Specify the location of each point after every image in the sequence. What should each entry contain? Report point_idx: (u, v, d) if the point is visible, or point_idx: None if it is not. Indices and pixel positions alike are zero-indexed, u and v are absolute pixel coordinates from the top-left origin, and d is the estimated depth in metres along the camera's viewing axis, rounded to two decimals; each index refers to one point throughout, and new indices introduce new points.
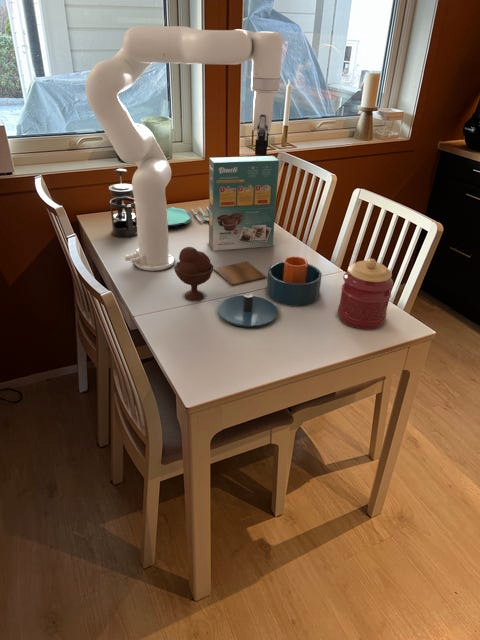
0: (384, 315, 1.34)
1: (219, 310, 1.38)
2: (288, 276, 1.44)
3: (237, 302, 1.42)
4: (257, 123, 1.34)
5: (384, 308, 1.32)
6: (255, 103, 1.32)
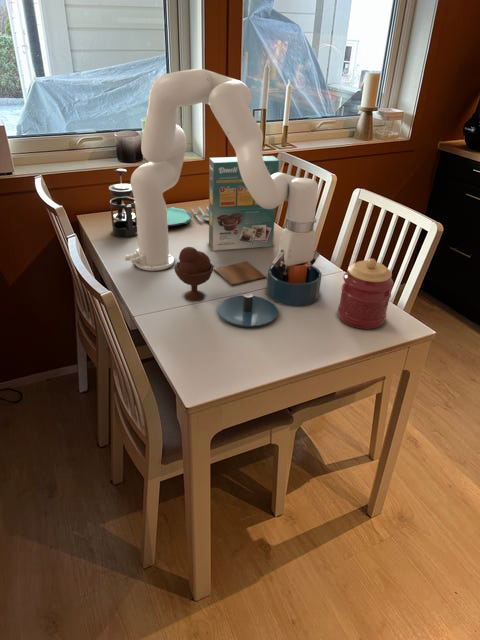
0: (384, 315, 1.34)
1: (219, 310, 1.38)
2: (288, 276, 1.44)
3: (237, 302, 1.42)
4: None
5: (384, 308, 1.32)
6: (280, 238, 1.40)
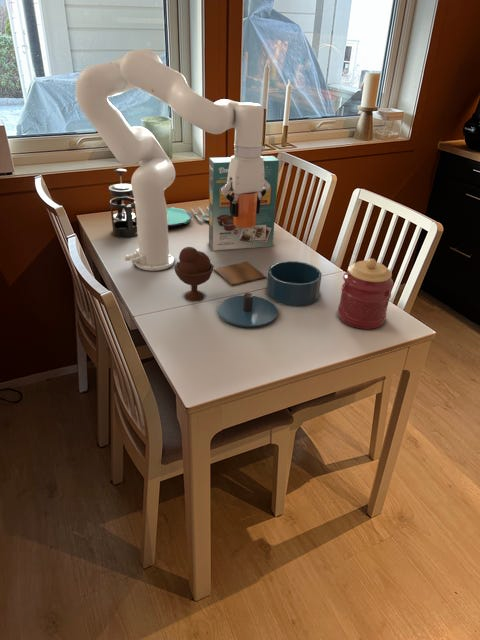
0: (384, 315, 1.34)
1: (219, 310, 1.38)
2: (238, 205, 1.44)
3: (237, 302, 1.42)
4: None
5: (384, 308, 1.32)
6: (229, 166, 1.41)
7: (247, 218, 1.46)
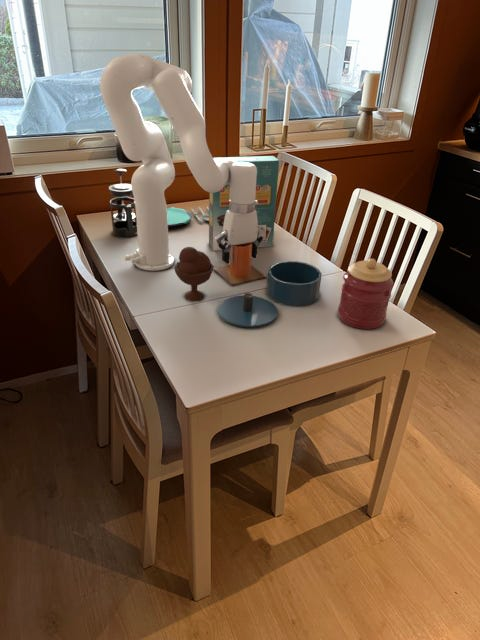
0: (384, 315, 1.34)
1: (219, 310, 1.38)
2: (234, 257, 1.53)
3: (237, 302, 1.42)
4: None
5: (384, 308, 1.32)
6: (224, 219, 1.50)
7: (242, 268, 1.55)
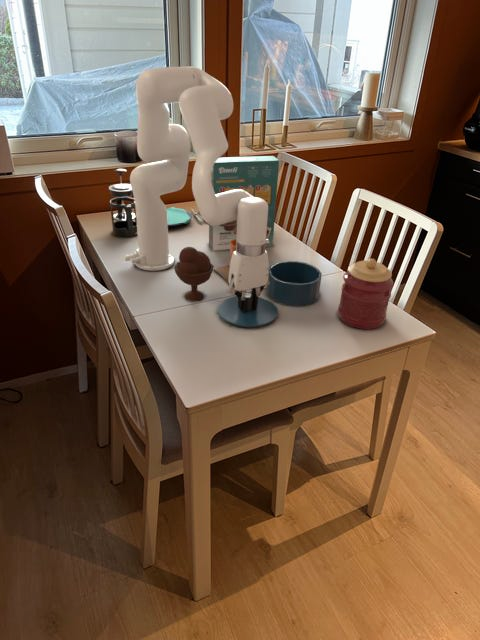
0: (384, 315, 1.34)
1: (219, 310, 1.38)
2: None
3: (237, 302, 1.42)
4: None
5: (384, 308, 1.32)
6: None
7: None
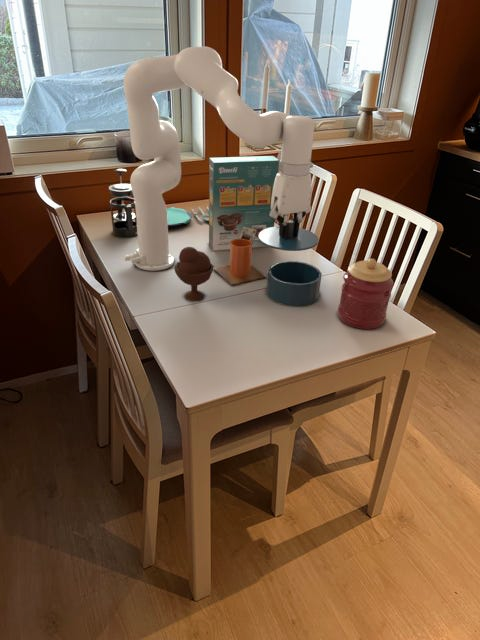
0: (384, 315, 1.34)
1: (260, 237, 1.37)
2: (234, 257, 1.53)
3: (277, 231, 1.41)
4: None
5: (384, 308, 1.32)
6: (274, 183, 1.30)
7: (242, 268, 1.55)
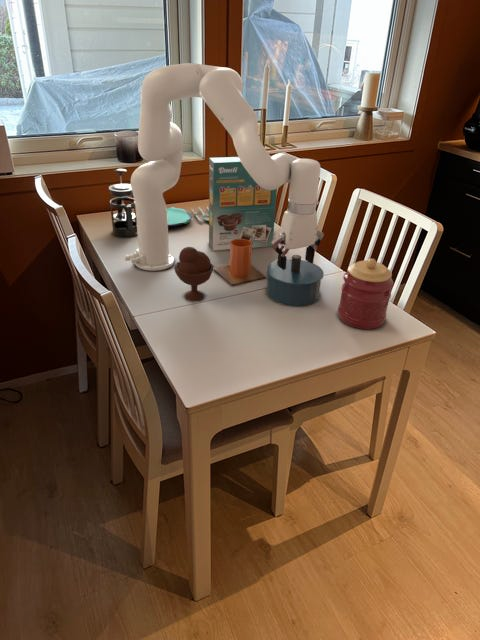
0: (384, 315, 1.34)
1: (269, 271, 1.45)
2: (234, 257, 1.53)
3: None
4: None
5: (384, 308, 1.32)
6: (282, 220, 1.38)
7: (242, 268, 1.55)
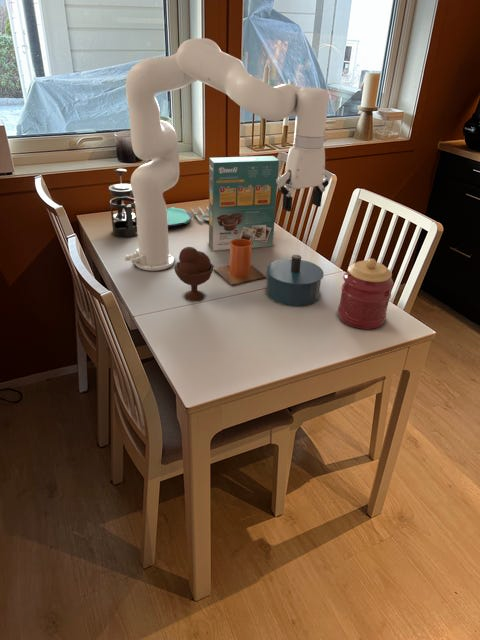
0: (384, 315, 1.34)
1: (269, 271, 1.45)
2: (234, 257, 1.53)
3: (284, 264, 1.49)
4: None
5: (384, 308, 1.32)
6: (287, 157, 1.29)
7: (242, 268, 1.55)
